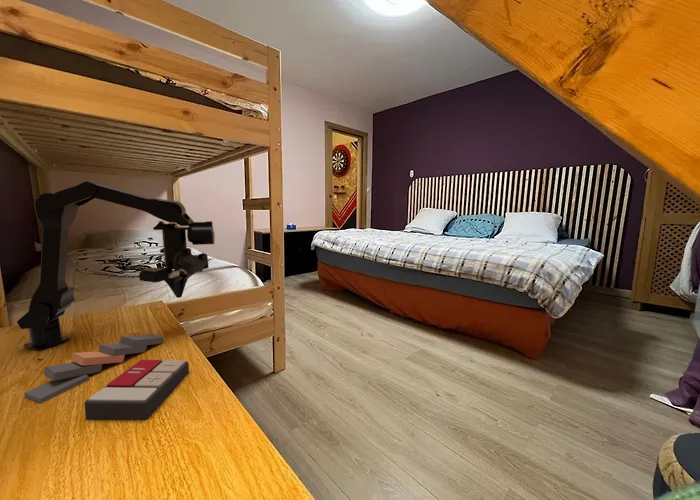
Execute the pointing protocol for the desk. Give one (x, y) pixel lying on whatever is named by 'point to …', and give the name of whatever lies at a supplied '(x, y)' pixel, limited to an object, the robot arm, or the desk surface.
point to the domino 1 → (70, 370)
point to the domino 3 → (95, 358)
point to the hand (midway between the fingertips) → (179, 297)
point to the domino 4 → (120, 349)
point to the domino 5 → (141, 340)
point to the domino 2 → (54, 388)
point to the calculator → (137, 391)
